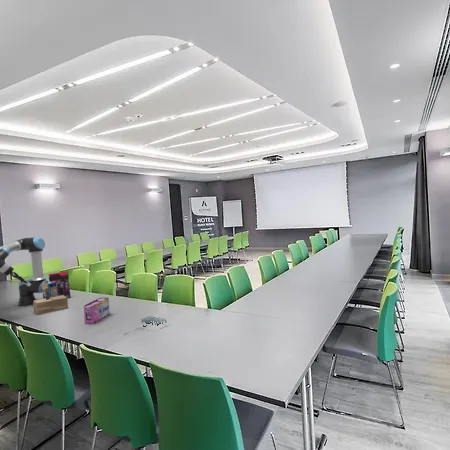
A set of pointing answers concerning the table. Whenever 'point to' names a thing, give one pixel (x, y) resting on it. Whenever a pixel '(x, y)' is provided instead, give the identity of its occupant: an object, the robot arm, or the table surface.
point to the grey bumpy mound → (152, 320)
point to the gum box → (96, 310)
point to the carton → (51, 305)
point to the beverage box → (50, 289)
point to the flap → (44, 298)
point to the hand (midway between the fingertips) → (28, 284)
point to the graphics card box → (61, 283)
